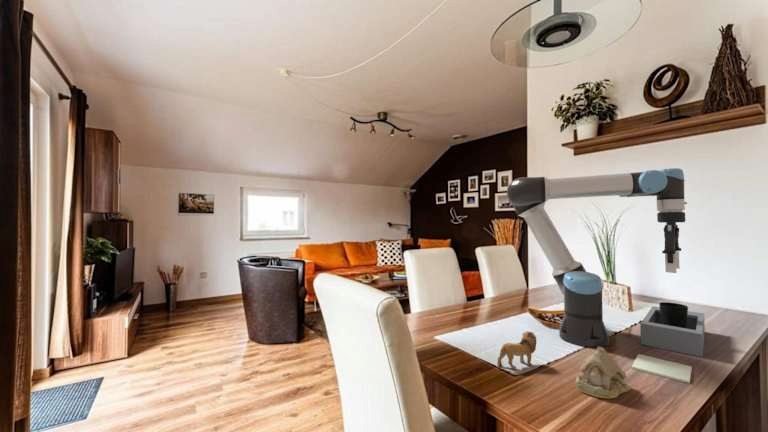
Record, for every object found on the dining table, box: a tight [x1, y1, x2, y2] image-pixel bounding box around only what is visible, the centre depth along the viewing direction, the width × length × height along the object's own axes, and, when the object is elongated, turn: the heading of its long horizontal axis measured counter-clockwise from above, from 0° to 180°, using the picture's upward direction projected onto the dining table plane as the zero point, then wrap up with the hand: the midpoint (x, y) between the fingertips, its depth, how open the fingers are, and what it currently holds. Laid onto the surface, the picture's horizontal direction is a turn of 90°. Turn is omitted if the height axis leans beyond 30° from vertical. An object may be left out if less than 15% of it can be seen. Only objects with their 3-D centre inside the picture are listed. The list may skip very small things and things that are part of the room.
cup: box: [658, 301, 689, 328], centre depth 114 cm, size 8×8×12 cm
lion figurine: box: [497, 330, 537, 370], centre depth 94 cm, size 15×5×9 cm, turn 116°
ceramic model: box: [575, 346, 631, 399], centre depth 81 cm, size 14×11×10 cm
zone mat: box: [631, 353, 693, 384], centre depth 91 cm, size 12×12×1 cm
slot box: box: [640, 305, 706, 358], centre depth 115 cm, size 15×32×7 cm, turn 134°
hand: (672, 270), depth 114 cm, fingers open, 13 cm apart
